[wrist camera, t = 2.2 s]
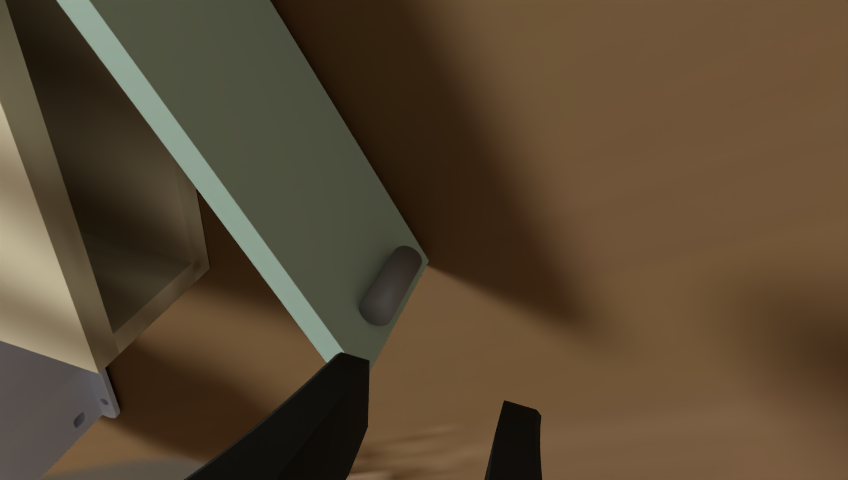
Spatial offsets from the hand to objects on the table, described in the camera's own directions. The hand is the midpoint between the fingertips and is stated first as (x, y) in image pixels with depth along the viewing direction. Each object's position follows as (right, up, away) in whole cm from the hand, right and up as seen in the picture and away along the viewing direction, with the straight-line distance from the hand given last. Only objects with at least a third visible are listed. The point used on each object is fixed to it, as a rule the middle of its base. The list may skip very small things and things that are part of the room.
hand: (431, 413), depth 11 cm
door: (-4, +9, +7) cm, 12 cm away
